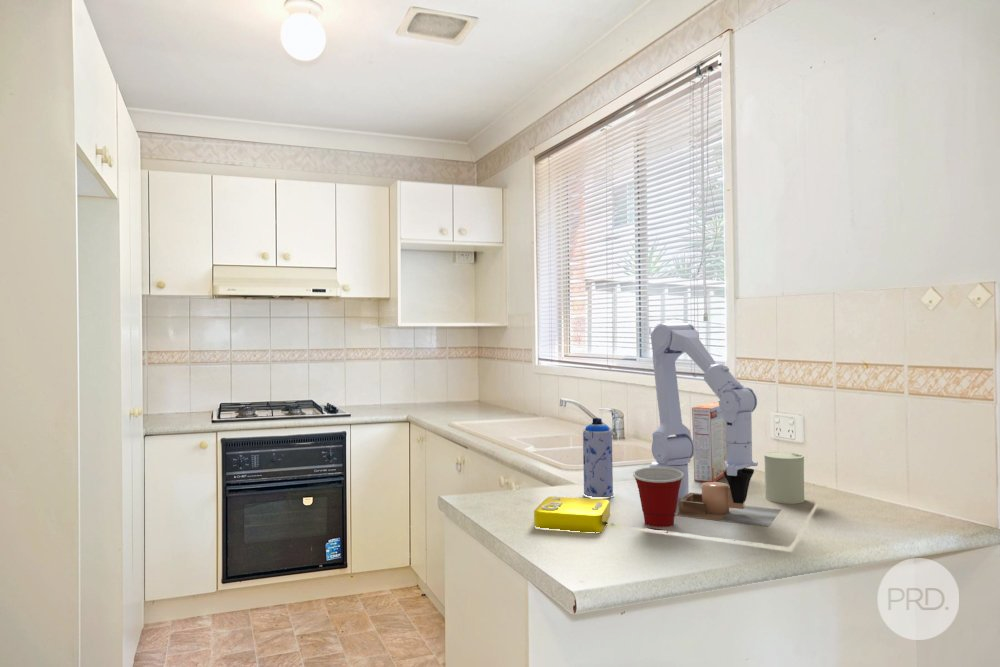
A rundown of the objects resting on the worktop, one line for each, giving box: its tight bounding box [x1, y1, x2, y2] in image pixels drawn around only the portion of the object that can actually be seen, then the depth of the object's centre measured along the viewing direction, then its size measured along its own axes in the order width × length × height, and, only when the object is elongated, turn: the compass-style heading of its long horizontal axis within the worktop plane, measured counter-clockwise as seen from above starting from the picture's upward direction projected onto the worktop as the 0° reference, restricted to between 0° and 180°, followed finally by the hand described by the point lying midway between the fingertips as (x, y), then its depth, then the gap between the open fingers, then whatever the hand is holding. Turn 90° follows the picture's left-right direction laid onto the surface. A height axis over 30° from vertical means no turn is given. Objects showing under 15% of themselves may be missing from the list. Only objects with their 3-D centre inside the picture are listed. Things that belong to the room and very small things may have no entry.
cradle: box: [675, 492, 782, 528], centre depth 161 cm, size 16×20×3 cm
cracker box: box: [691, 401, 727, 483], centre depth 203 cm, size 14×6×21 cm, turn 144°
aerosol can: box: [582, 417, 614, 497], centre depth 183 cm, size 8×8×20 cm
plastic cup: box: [632, 466, 684, 531], centre depth 153 cm, size 11×11×12 cm
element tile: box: [533, 496, 611, 533], centre depth 158 cm, size 15×15×5 cm
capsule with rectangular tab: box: [701, 481, 745, 514], centre depth 162 cm, size 6×9×6 cm, turn 59°
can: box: [763, 451, 806, 505], centre depth 173 cm, size 9×9×12 cm
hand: (739, 502), depth 160 cm, fingers closed on capsule with rectangular tab
